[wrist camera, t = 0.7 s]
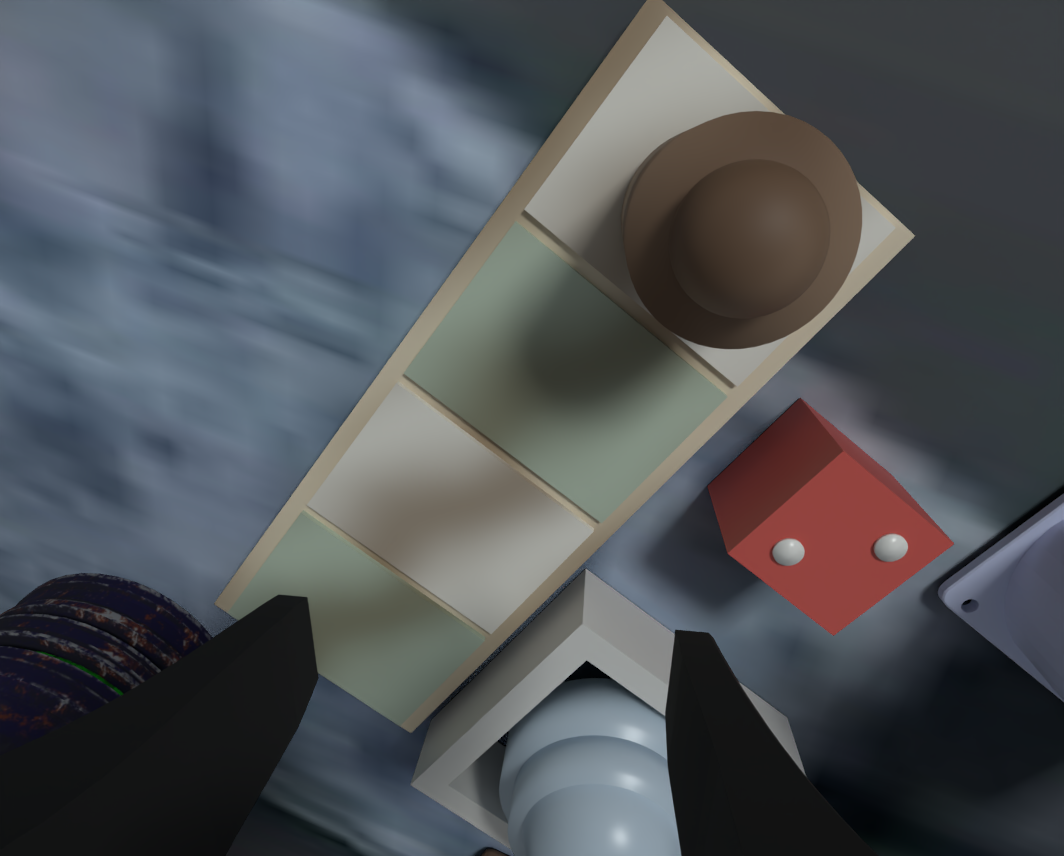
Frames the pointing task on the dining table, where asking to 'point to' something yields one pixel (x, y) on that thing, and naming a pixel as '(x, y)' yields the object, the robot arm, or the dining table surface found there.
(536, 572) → the track board
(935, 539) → the red die
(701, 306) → the pawn
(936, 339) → the dining table surface
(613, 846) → the dome
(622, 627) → the dome housing
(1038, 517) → the robot arm
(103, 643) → the storage jar
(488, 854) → the wooden block
